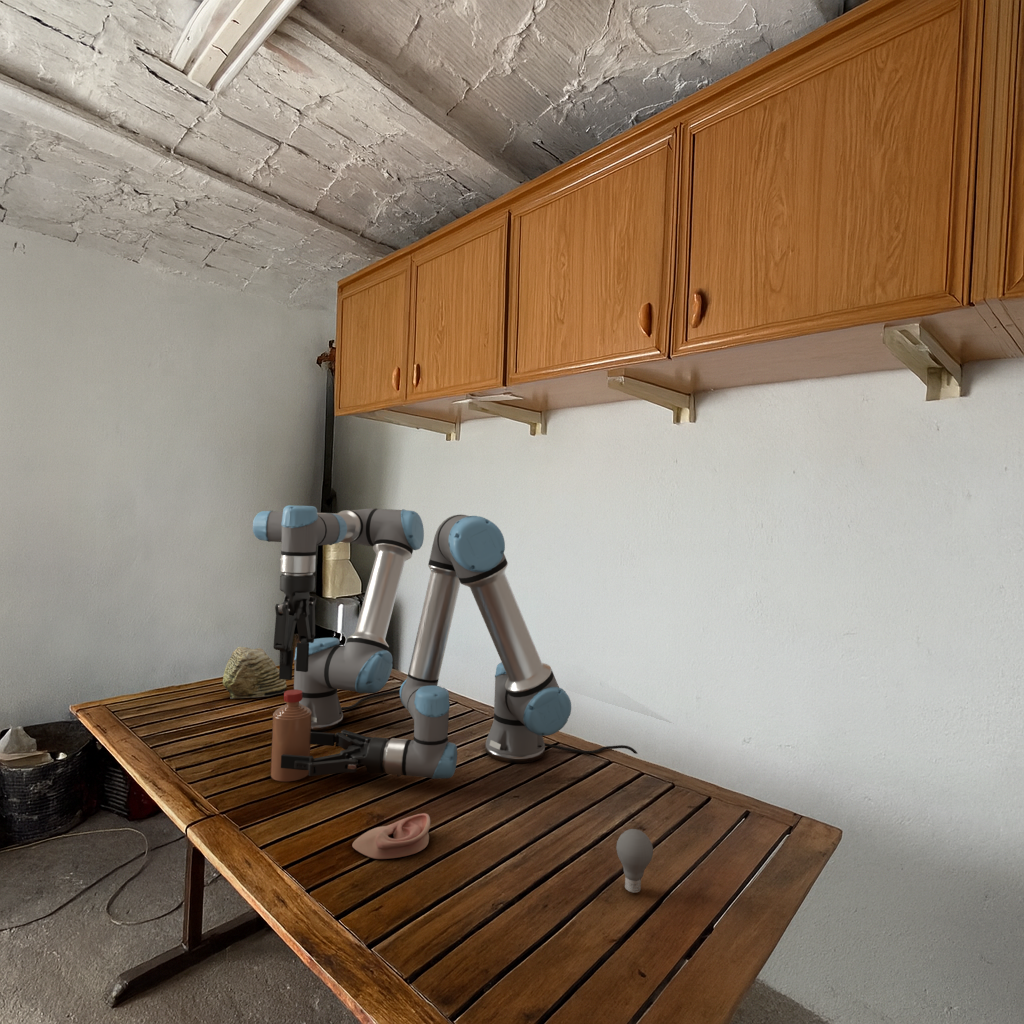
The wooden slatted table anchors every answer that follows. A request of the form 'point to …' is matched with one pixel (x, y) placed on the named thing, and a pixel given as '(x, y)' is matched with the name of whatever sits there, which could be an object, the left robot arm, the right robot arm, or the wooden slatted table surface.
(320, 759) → the right robot arm
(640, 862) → the light bulb
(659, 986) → the wooden slatted table surface
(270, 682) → the fossil
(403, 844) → the anatomical model
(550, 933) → the wooden slatted table surface
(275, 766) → the bottle
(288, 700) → the cap
